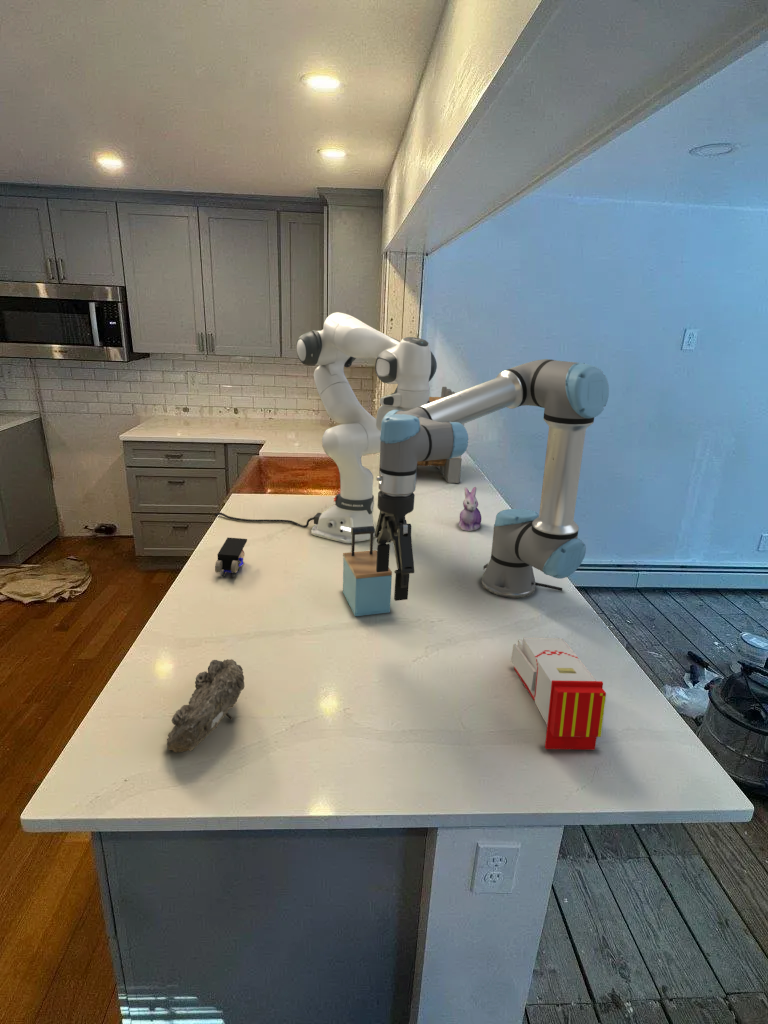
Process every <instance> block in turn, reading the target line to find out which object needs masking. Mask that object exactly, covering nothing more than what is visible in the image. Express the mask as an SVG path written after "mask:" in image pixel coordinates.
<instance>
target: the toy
mask: <svg viewBox="0 0 768 1024" xmlns="http://www.w3.org/2000/svg"><path fill="white" fill-rule="evenodd" d="M510 663H511V664H512V666H513V669H514V671H515V672H516V675H517V676H518V678H519V679H520V681H521V683H522V684H523V685H524V687H525V689H526V690H527V692H528V693H529V695H530V697H531V698H532V700H533V701H534V704H535V705H536V707H537V709H538V711H539V712H540V715H541V717H542V719H543V720H544V722H545V724H546V732H545V733H546V734H545V744H544V748H545V750H578V751H579V750H583V751H584V750H585V751H586V750H589V751H591V750H592V751H594V750H596V745H597V738H601V737H602V729H603V724H604V723H603V722H604V714H605V707H606V700H607V699H606V698H607V692H606V691H605V690H604V682H603V681H602V680H596V678H595V677H594V676H593V675H592V672H590V670H588V668H587V667H586V666H585V664H584V663H583V662H582V661H581V659H580V658H579V657H578V656H577V654H576V653H575V652H574V650H573V649H572V648H571V647H570V646H569V644H568V643H567V642H566V640H565V639H564V638H562V637H561V638H559V637H557V638H555V637H554V638H553V637H523V638H521V639H520V638H517V643H513V644H512V651H511V658H510Z"/></svg>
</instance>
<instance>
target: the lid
mask: <svg viewBox="0 0 768 1024" xmlns="http://www.w3.org/2000/svg"><path fill="white" fill-rule="evenodd" d="M375 530H376V527H375V525H374V526H365V527H352V528H351V535H352V543H351V548H350V550H351V551H349V552H342V557H344V559H345V560H346V562H347V564H348V566H349V567H350V569H351V571H352V573H353V574H354V576H355V578H356V579H359V578H369V577H379V576H389V575H393V572H392V570H391V568H389V570H388V571H386V572H377V571H376V564H377V549H375V550H374V537H373V533H374V532H375ZM360 534H370V539H369V550H361V551H355V548H356V547H355V545H356V544H355V543H356V542H355V535H360Z"/></svg>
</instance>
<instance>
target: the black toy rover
mask: <svg viewBox="0 0 768 1024" xmlns="http://www.w3.org/2000/svg"><path fill="white" fill-rule="evenodd" d="M247 542H248V538H240V537H226V539H225V541H224V543H223V544H222V546H221V547H220V549H219V551H218V552H217V560H216V562H215V564H214V572H215V573H221V577H222V578H224V577H225V576H226V574H227V573H230V574H231V573H232V574H231V578H234V577H235V575H236V573H237V572H239V571H240V567H242V566H243V565H244V564H245V562H244V558H245V551H244V547H245V546H246V544H247Z"/></svg>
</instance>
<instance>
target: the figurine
mask: <svg viewBox="0 0 768 1024" xmlns="http://www.w3.org/2000/svg"><path fill="white" fill-rule="evenodd" d="M476 494H477V487H476V486H474V487H473V488H472V489H471V491H470V490H469V488H467V487H464V499H463V501H462V506H463V509H462V510H461V511H460V513H459V521H458V527H459V528H460V529H461V530H463V531H469V532H472V531H476V530H478V529H479V528H481V523H482V514H481V512H480V510H479V508H478V507H479V501H478V498H477V497H476Z"/></svg>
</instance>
